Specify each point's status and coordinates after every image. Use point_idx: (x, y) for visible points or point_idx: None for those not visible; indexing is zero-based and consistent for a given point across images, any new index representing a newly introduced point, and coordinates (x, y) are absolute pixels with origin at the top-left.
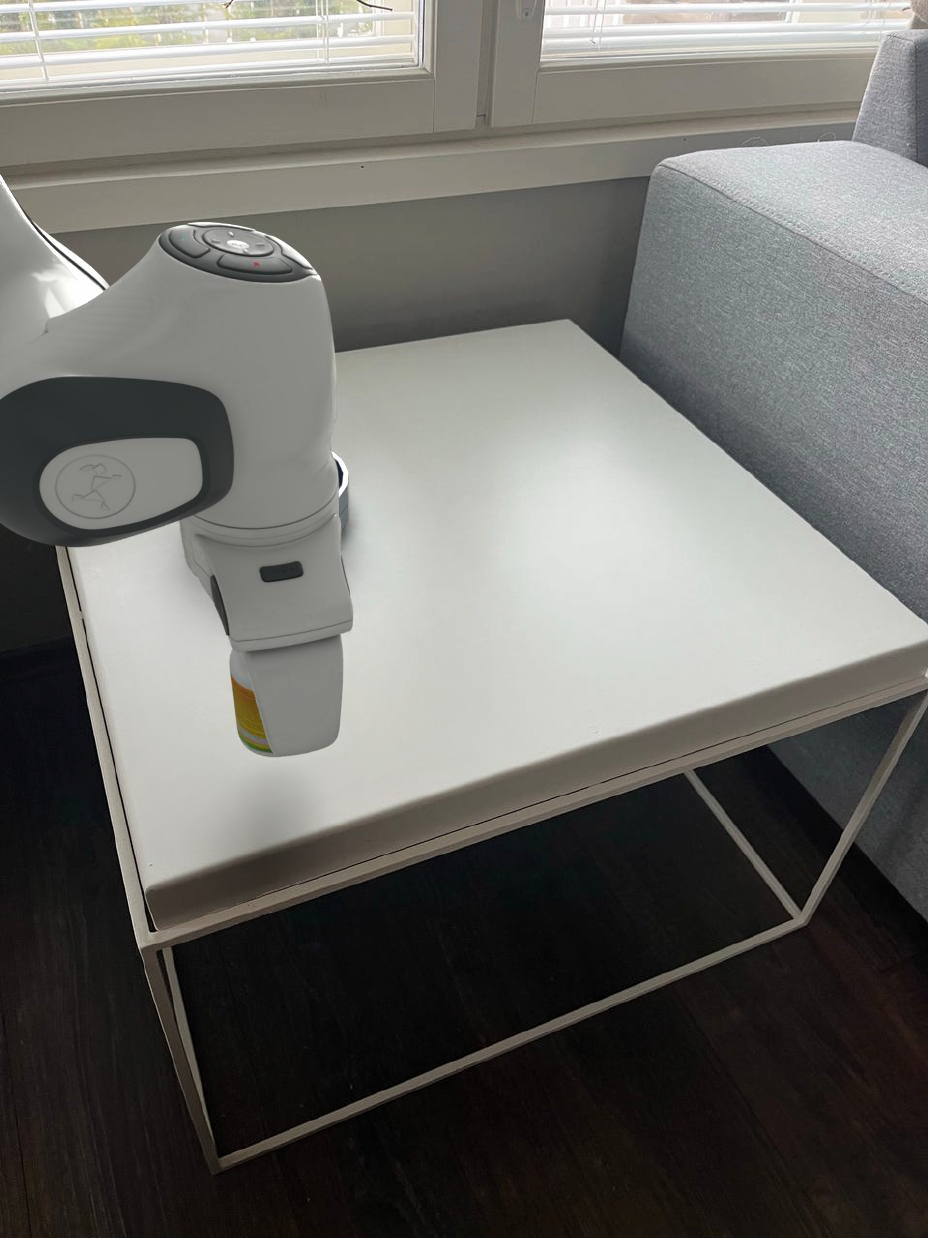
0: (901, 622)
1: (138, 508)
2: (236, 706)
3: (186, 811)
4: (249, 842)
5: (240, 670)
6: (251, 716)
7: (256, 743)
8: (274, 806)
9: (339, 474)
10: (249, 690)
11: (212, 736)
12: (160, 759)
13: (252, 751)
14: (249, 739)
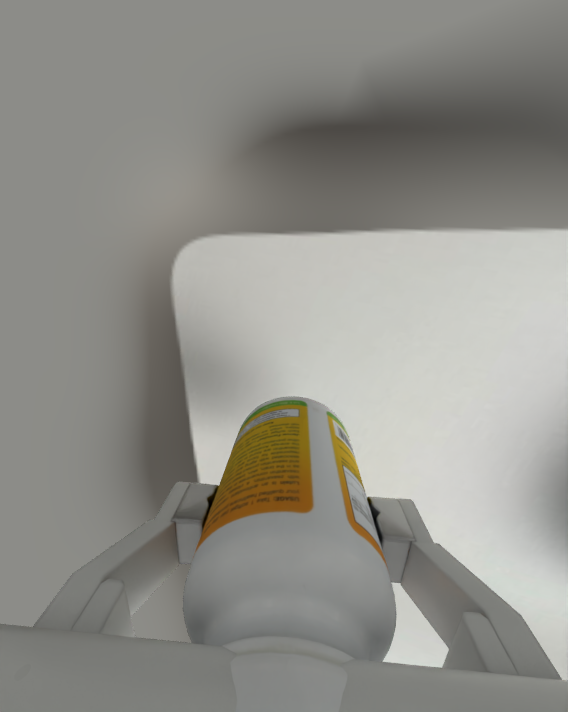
0: None
1: None
2: (276, 443)
3: (253, 292)
4: (189, 351)
5: (240, 566)
6: (237, 462)
7: (246, 424)
8: (230, 387)
9: None
10: (215, 529)
11: (361, 347)
12: (350, 275)
13: (258, 406)
14: (255, 418)
